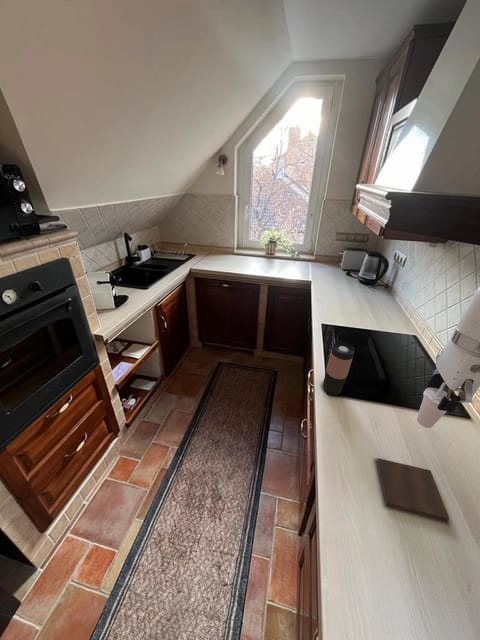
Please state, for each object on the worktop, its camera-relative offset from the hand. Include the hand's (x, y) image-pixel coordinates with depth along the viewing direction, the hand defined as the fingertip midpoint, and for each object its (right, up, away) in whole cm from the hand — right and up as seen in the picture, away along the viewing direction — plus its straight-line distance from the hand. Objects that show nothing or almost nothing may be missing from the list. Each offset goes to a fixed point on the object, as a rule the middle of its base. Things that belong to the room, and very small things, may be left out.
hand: (439, 398), depth 63 cm
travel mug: (-14, -8, +37) cm, 40 cm away
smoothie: (0, -8, +5) cm, 9 cm away
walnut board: (-4, -26, +5) cm, 27 cm away
